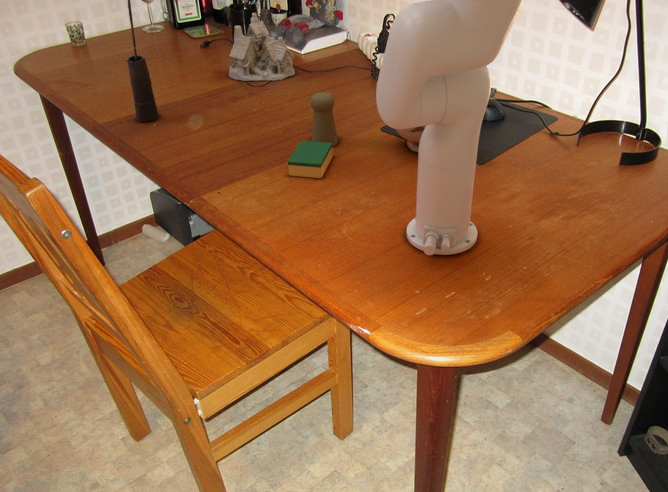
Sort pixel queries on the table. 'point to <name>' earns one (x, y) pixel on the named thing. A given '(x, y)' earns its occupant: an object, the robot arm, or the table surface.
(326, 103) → the pawn
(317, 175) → the sponge
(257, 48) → the ceramic cottage
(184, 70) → the table surface
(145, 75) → the butter churn
